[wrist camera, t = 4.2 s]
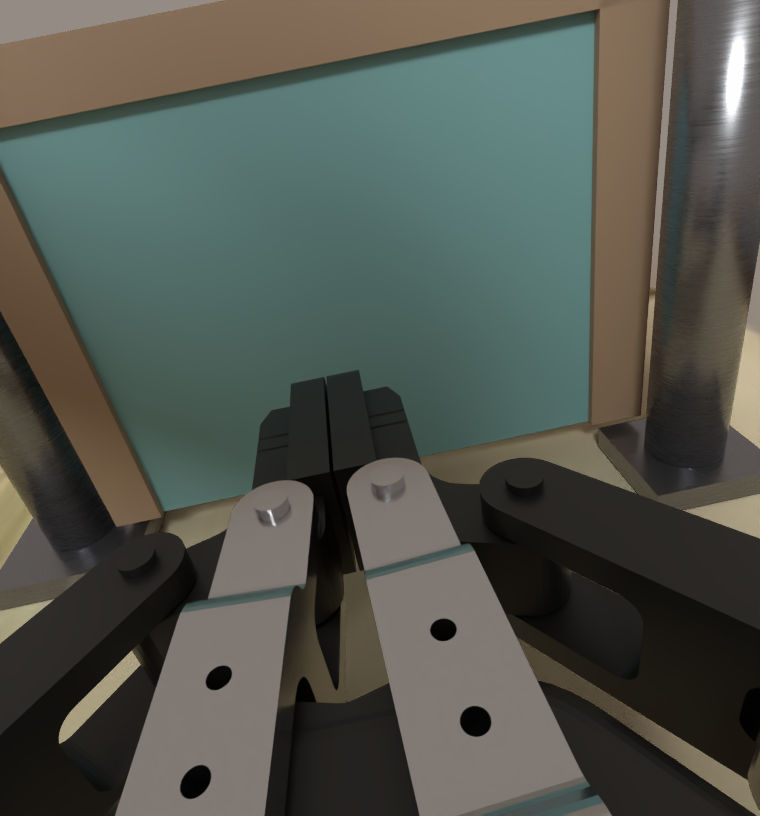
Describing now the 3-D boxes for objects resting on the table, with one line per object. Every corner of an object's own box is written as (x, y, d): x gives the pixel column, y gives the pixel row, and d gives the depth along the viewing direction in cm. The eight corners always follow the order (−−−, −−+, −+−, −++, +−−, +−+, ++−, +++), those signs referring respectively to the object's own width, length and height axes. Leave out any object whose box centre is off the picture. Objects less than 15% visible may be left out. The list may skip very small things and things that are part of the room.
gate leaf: (116, 526, 20) (-130, 70, 13) (130, 495, 21) (-84, 72, 14) (640, 414, 20) (676, -89, 13) (616, 391, 22) (637, -70, 15)
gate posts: (-35, 665, 17) (-560, 55, 9) (53, 514, 23) (-216, 69, 15) (780, 488, 18) (950, -237, 10) (656, 386, 24) (699, -110, 16)
